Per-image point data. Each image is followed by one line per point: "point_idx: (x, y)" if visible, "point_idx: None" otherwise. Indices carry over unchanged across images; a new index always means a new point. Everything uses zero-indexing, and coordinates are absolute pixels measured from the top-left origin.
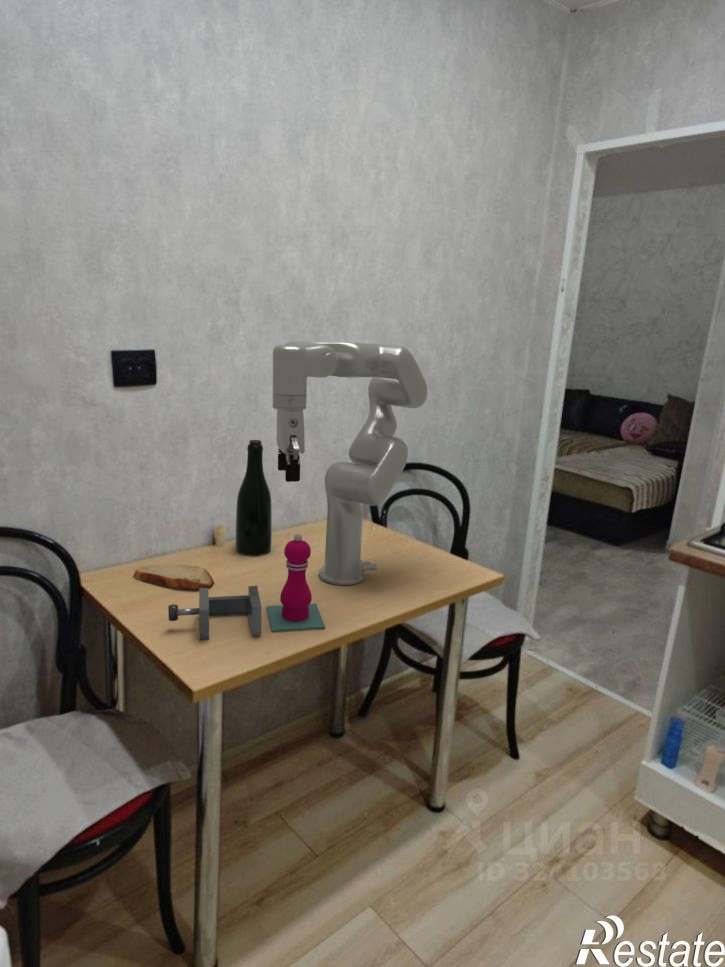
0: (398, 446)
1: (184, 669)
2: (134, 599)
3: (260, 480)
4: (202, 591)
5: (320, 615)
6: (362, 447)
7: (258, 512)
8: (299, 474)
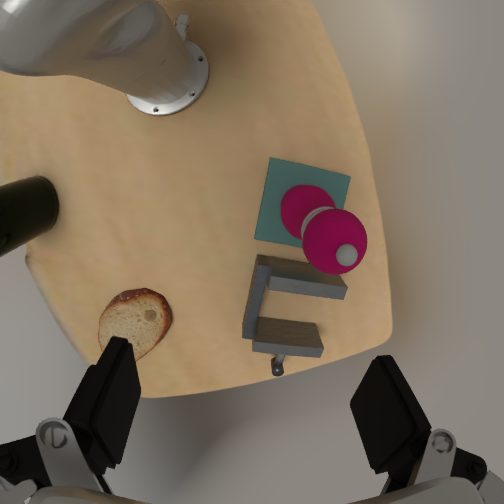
0: None
1: (359, 347)
2: (184, 373)
3: None
4: (264, 349)
5: (315, 168)
6: None
7: (8, 223)
8: (402, 380)
